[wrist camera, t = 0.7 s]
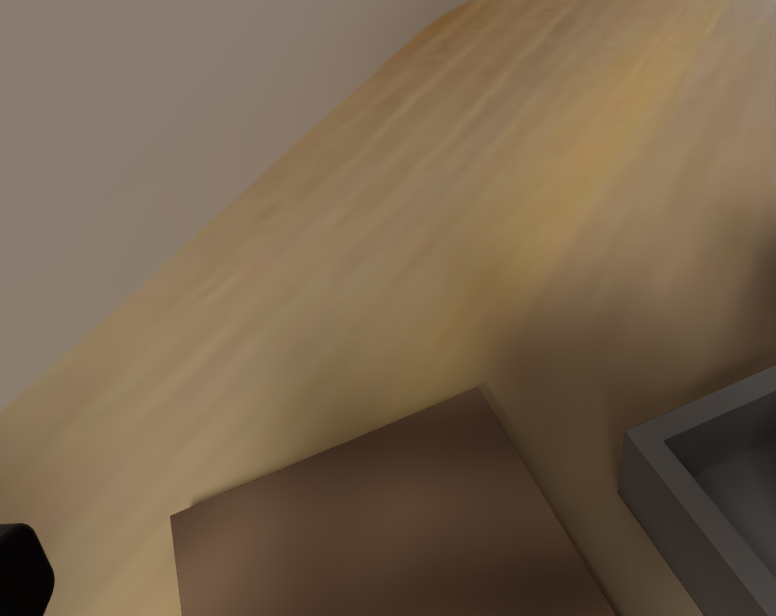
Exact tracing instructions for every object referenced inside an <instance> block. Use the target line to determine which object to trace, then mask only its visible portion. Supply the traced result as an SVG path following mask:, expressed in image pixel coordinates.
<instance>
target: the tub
mask: <svg viewBox="0 0 776 616" xmlns="http://www.w3.org/2000/svg"><path fill="white" fill-rule="evenodd" d="M618 494H619V495H620V496H621V498H622V499H623V501H624V502H625V504H626V505H627V506H628V508H629V509H630V511H631V512H632V513H633V515H634V516H635V518H636V519H637V521H638V522H639V523H640V525H641V526H642V528H643V529H644V531H645V532H646V533H647V535H648V536H649V538H650V539H651V540H652V542H653V543H654V545H655V546H656V548H657V549H658V550H659V552H660V553H661V555H662V556H663V558H664V559H665V560H666V562H667V563H668V565H669V566H670V567H671V569H672V570H673V572H674V573H675V575H676V576H677V577H678V579H679V580H680V582H681V583H682V585H683V586H684V587H685V589H686V590H687V592H688V593H689V594H690V596H691V597H692V599H693V600H694V602H695V603H696V604H697V606H698V607H699V609H700V610H701V612H702V613H703V614H704V616H776V365H775V366H772V367H770V368H768V369H766V370H763V371H761V372H759V373H756V374H754V375H752V376H750V377H747V378H745V379H743V380H740V381H738V382H736V383H734V384H731V385H729V386H727V387H724V388H722V389H720V390H718V391H715V392H713V393H711V394H709V395H706V396H704V397H702V398H699V399H697V400H695V401H693V402H690V403H688V404H686V405H683V406H681V407H679V408H677V409H674V410H672V411H670V412H668V413H665V414H663V415H661V416H658V417H656V418H654V419H652V420H649V421H647V422H645V423H642V424H640V425H638V426H636V427H633V428H631V429H629V430H626V431H625V436H624V444H623V453H622V462H621V471H620V480H619V489H618Z"/></svg>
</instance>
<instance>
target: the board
mask: <svg viewBox="0 0 776 616" xmlns="http://www.w3.org/2000/svg"><path fill="white" fill-rule="evenodd" d="M170 519H171V527H172V536H173V544H174V553H175V561H176V570H177V578H178V587H179V595H180V604H181V612H182V616H616V615H615V613H614V611H613V610H612V608H611V606H610V605H609V603H608V601H607V600H606V598H605V596H604V595H603V593H602V591H601V590H600V588H599V587H598V585H597V583H596V582H595V580H594V578H593V577H592V575H591V573H590V572H589V570H588V568H587V567H586V565H585V563H584V562H583V560H582V558H581V557H580V555H579V553H578V552H577V550H576V548H575V547H574V545H573V544H572V542H571V540H570V539H569V537H568V535H567V534H566V532H565V530H564V529H563V527H562V525H561V524H560V522H559V520H558V519H557V517H556V515H555V514H554V512H553V510H552V509H551V507H550V505H549V504H548V502H547V501H546V499H545V497H544V496H543V494H542V492H541V491H540V489H539V487H538V486H537V484H536V482H535V481H534V479H533V477H532V476H531V474H530V472H529V471H528V469H527V467H526V466H525V464H524V462H523V461H522V459H521V458H520V456H519V454H518V453H517V451H516V449H515V448H514V446H513V444H512V443H511V441H510V439H509V438H508V436H507V434H506V433H505V431H504V429H503V428H502V426H501V424H500V423H499V421H498V419H497V418H496V416H495V415H494V413H493V411H492V410H491V408H490V406H489V405H488V403H487V401H486V400H485V398H484V396H483V395H482V393H481V391H480V390H479V388H478V387H477V388H474V389H472V390H470V391H467V392H465V393H462V394H460V395H458V396H455V397H453V398H451V399H448V400H446V401H443V402H441V403H439V404H436V405H434V406H431V407H429V408H427V409H424V410H422V411H419V412H417V413H415V414H412V415H410V416H408V417H405V418H403V419H400V420H398V421H396V422H393V423H391V424H388V425H386V426H384V427H381V428H379V429H376V430H374V431H372V432H369V433H367V434H365V435H362V436H360V437H357V438H355V439H353V440H350V441H348V442H345V443H343V444H341V445H338V446H336V447H333V448H331V449H329V450H326V451H324V452H322V453H319V454H317V455H314V456H312V457H310V458H307V459H305V460H302V461H300V462H298V463H295V464H293V465H290V466H288V467H286V468H283V469H281V470H279V471H276V472H274V473H271V474H269V475H267V476H264V477H262V478H259V479H257V480H255V481H252V482H250V483H247V484H245V485H243V486H240V487H238V488H236V489H233V490H231V491H228V492H226V493H224V494H221V495H219V496H216V497H214V498H212V499H209V500H207V501H204V502H202V503H200V504H197V505H195V506H193V507H190V508H188V509H185V510H183V511H181V512H178V513H176V514H173V515H171V516H170Z"/></svg>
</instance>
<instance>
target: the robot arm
mask: <svg viewBox="0 0 776 616" xmlns="http://www.w3.org/2000/svg"><path fill="white" fill-rule="evenodd" d="M54 581H55V578H54V572H53V569H52V567H51V565H50V563H49V561H48V558H47V556H46V554H45V552H44V550H43V548H42V546H41V544H40V541H39V539H38V537H37V535H36V533H35V531H34V530H33V529H32V528H31V527H30V526H29V525H27V524H24V523H15V524H0V616H43V615H44V612H45V610H46V608H47V605H48V603H49V600H50V598H51V596H52V593H53V589H54Z"/></svg>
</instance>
